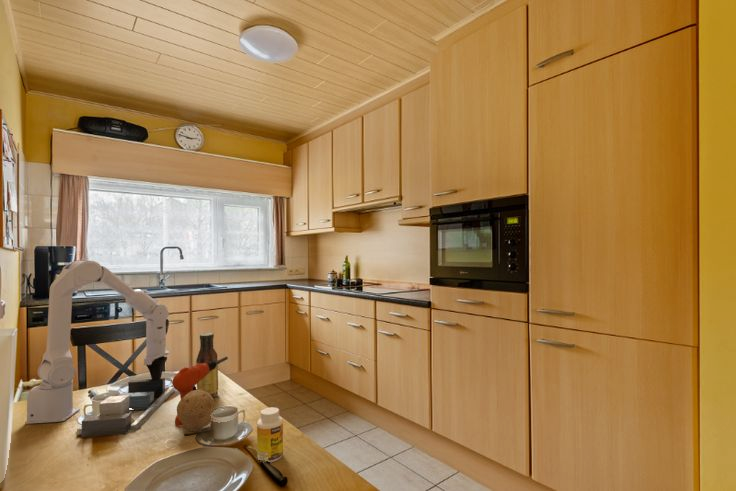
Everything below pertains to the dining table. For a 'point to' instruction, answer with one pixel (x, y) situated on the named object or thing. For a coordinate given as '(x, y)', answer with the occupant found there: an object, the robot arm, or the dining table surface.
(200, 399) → the natural sponge
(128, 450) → the dining table surface
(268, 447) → the supplement bottle
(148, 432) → the dining table surface
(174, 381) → the toy drill
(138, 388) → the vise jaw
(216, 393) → the sauce bottle
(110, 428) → the vise base
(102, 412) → the steel block
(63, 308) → the robot arm
